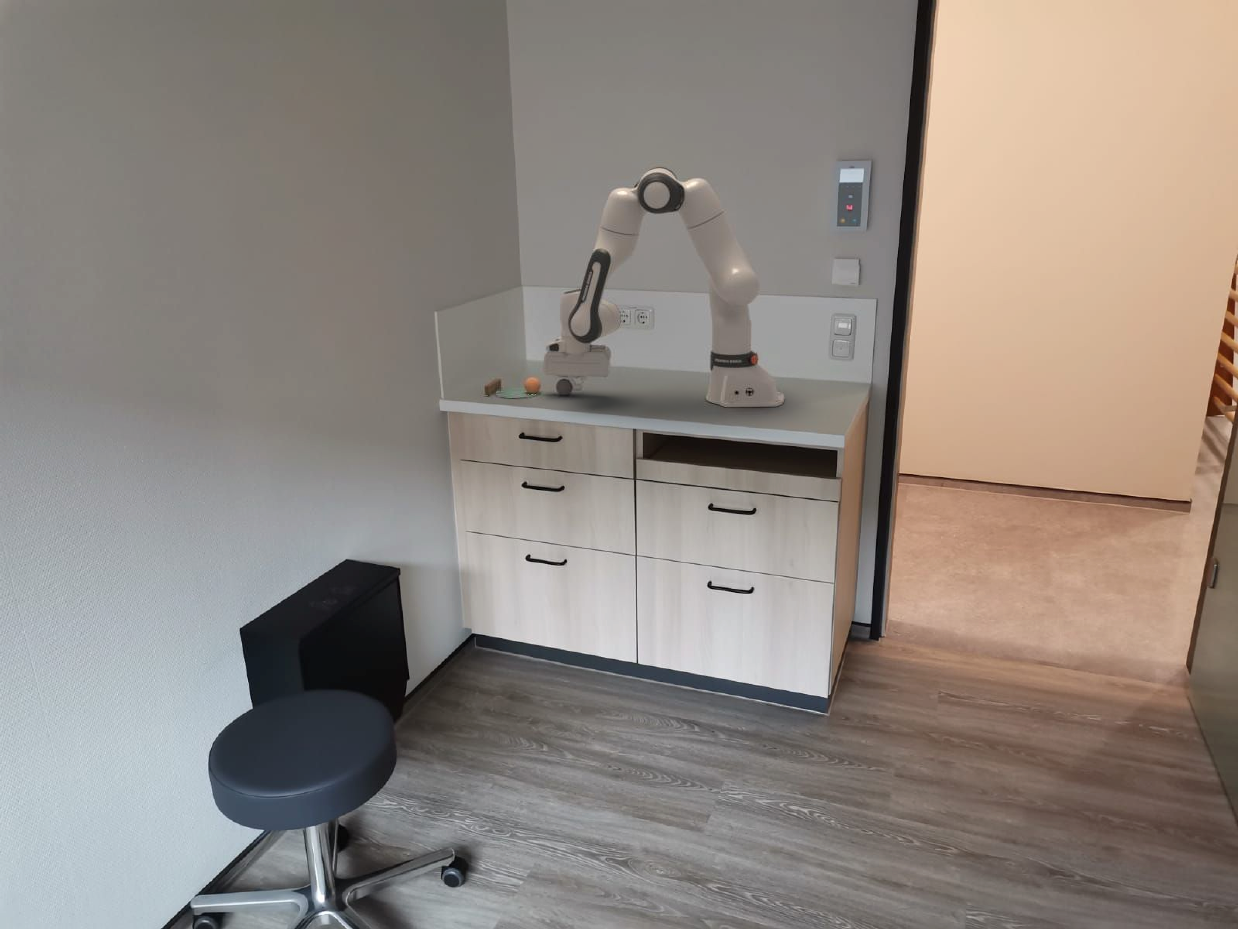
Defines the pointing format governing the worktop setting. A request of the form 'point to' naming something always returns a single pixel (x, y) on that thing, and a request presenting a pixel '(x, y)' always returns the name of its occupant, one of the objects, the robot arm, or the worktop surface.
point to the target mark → (510, 393)
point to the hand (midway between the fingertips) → (577, 390)
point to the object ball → (532, 385)
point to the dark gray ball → (564, 387)
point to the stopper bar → (493, 387)
